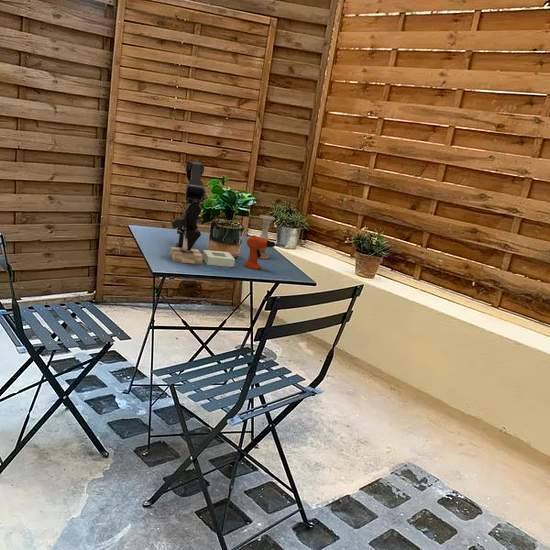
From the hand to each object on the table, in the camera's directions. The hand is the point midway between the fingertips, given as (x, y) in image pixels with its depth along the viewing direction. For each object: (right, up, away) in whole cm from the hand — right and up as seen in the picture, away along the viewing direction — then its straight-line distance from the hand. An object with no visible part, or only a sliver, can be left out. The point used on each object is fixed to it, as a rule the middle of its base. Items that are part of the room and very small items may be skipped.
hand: (187, 248), depth 237 cm
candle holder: (+31, -3, +31) cm, 44 cm away
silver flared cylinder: (-1, -5, +1) cm, 5 cm away
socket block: (-1, -5, +1) cm, 5 cm away
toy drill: (+32, -10, +6) cm, 34 cm away
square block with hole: (+13, -6, +6) cm, 15 cm away
